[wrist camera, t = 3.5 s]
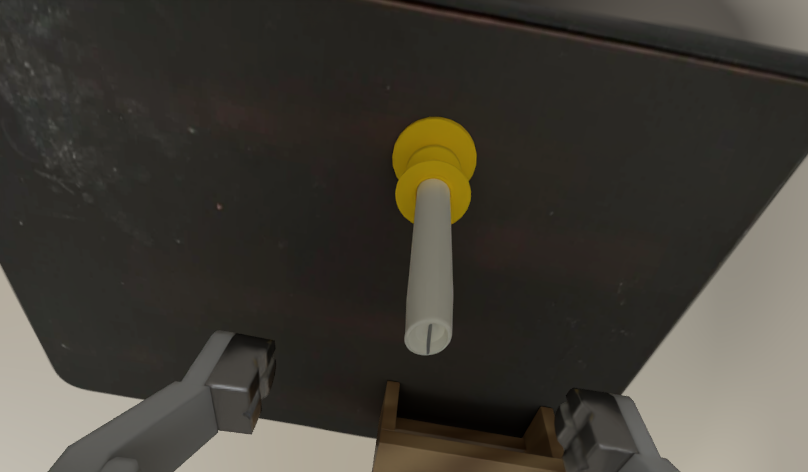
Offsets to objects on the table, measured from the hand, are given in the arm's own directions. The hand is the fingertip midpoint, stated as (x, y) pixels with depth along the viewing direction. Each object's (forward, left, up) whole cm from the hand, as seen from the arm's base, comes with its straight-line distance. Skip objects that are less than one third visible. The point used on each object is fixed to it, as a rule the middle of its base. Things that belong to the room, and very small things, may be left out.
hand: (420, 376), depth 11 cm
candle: (0, 0, -17) cm, 17 cm away
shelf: (-8, +25, -16) cm, 31 cm away
